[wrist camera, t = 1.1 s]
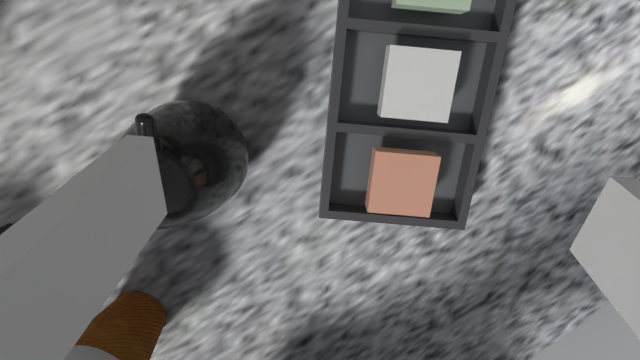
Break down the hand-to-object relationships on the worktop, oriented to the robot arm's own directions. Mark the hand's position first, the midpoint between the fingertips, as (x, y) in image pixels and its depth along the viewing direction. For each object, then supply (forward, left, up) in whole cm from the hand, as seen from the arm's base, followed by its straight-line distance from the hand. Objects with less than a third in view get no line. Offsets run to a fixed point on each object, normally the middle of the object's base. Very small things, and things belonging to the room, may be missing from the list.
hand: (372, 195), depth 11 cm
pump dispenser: (-5, +13, -26) cm, 29 cm away
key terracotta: (-6, -6, -22) cm, 23 cm away
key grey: (+3, -6, -22) cm, 23 cm away
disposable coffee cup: (-26, +21, -26) cm, 42 cm away
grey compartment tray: (+3, -6, -26) cm, 26 cm away
